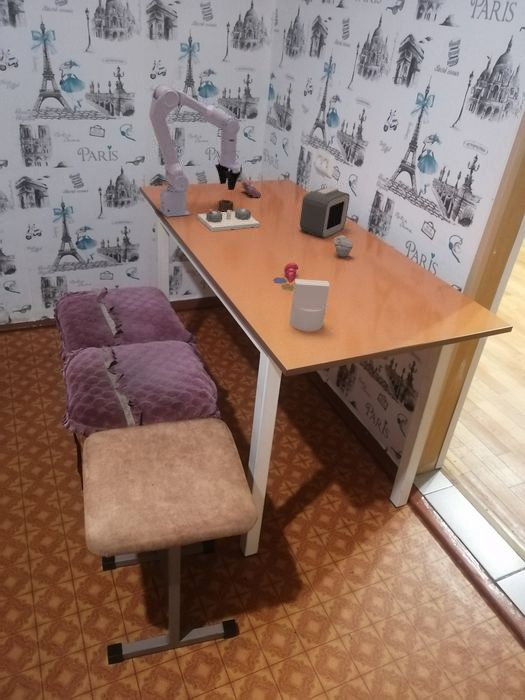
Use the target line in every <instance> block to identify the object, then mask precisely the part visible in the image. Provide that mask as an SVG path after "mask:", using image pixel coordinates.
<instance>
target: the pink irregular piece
mask: <svg viewBox="0 0 525 700" xmlns="http://www.w3.org/2000/svg"><path fill="white" fill-rule="evenodd" d="M241 188H242V189H244V190H245V192H246V194H247V193H249V194H248V195H249V196H250V195H251V196H250V197H252V196H254V197H256V198H257V197H260V198H261V197H262V193H261V192H260V191H259V190H258V189H257V188H256V187H255V185H254V184H253V183H252V182H251V181H250V180H248V179H246V180H243V181H242V182H241Z"/></svg>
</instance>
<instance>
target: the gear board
mask: <svg viewBox="0 0 525 700" xmlns="http://www.w3.org/2000/svg"><path fill="white" fill-rule="evenodd" d="M251 214H252V211H251V210H250V209H248V208H247V209H245V208H244V207H243V208H236V209H235V210H233V211H231V210H227V212H225V211H224V212H222V211H217V210H213V209H212V208H209V209H208V211H207V212H206V213H198V214H197V219H198V221H200V222H201V223H202V224H203V225H204V226H206V228H207V229H208V230H209V231H211V232H212V233H214V232H220V231H222V232H223V231H232V230H231V229H234V230H241V229H243V228H244V229H252V228H251V227H254V228H260V227H261V225H260V224H261V223H260V222H259V221H258V220H256V219H255V218H254V217H253V216H252V215H251ZM244 229H243V230H244Z"/></svg>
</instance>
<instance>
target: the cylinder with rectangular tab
mask: <svg viewBox="0 0 525 700" xmlns="http://www.w3.org/2000/svg"><path fill="white" fill-rule="evenodd" d="M293 285H294V289H293V291H292V292H293V293H292V300H291V307H290V317H289V324H290V325H291V326H292V327H293V328H294V327H295V328H294V329H296V328H297V330H298V329H300V330H299V331H302V330H303V331H302V332H315V331H314V330H317V331H319V330H321V329H322V328H323V325H324V319H325V313H326V308H327V304H328V303H327V301H328V296H329V292H330V282H329V281H328V280H316V279H315V280H314V279H301V278H300V279H299V278H294V284H293ZM320 328H321V329H320ZM318 329H319V330H318Z"/></svg>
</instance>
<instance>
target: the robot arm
mask: <svg viewBox="0 0 525 700" xmlns="http://www.w3.org/2000/svg"><path fill="white" fill-rule="evenodd" d="M177 106H178V107H179V108H181V107H184V106H186V107H188V108H189V109H191V110H193V111H195V112H197V113H199V114H201V115H202V117H203V120H204V121H206V122H208V123H209V124H211V125H213V126H215V127H216V128H218V129H220V130H221V132H220V133H221V137H220V156H219V157H217V163H218V164H215V166H214V167H215V169H216V170H217V174H218V180H219V183H220V185H224V184H225V185H226V183H227V190H230V191H232V190H233V191H234V190H235V187H236V185H237V181H238V179H239V177H240V176H241V174H242V173H241V171H239V167H238V165H239V161H237V159H236V158H237V144H238V143H237V139H238V133H239V132H240V129H241V125H240V122H239V121H238V119H237V118H235V117H233V116H231V115H230V113H229V112H228V111H224V110H221V109H220V108H219V106H218V105H216V104H214V105H213V104H209V105H205V104H203V103H201V102H200V101H199V100H197V99H196V98H194V97H192V96H190V95H189V94H188V93H186V92H183V91H181V90H179V89H177V88H173V87H172V86H171V87H170V86H169V85H167V84H165V83H164V84H163V83H161V84H159V85H157V86H156V87H155V89H154V90H153V92H152V94H151V103H150V109H149V115H148V116H149V120H150V123H151V125H152V129H153V132H154V135H155V138H156V141H157V144H158V147H159V150H160V153H161V156H162V160H163V162H164V170H165V174H164V175H165V181H166V183H168V184H167V186H166V188H165V189H162V190H160V193H159V211H160V212H161V213H162V215H164V216H165V217H166V218H167V217H168V218H169V217H179V216H190V215H191V213H190V212H189V211H188V210H187V189H188V187H189V184H190V181H189V178H188V177H187V176H186V174H185V173H184V170H183V168H182V166H181V164H180V163H179V159H178V156H177V152H176V150H175V146H174V143H173V140H172V139H173V138H172V136H171V132H170V129H169V127H168V123H167V120H166V119H167V118H168V117H169V114H171V112H172V111H173V110H175V108H177Z"/></svg>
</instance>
